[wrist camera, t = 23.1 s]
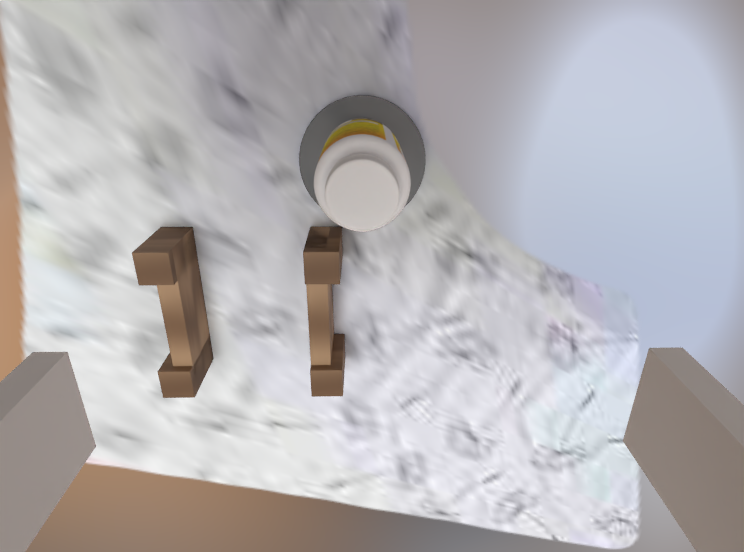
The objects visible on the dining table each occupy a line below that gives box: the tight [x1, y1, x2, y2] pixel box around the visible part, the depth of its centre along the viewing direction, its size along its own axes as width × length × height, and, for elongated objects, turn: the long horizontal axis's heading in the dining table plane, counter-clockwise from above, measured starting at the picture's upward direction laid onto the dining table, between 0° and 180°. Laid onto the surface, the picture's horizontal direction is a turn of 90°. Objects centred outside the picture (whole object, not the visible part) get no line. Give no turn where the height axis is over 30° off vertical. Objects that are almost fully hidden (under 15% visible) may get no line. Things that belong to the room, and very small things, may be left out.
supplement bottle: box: [314, 118, 411, 232], centre depth 30 cm, size 6×6×10 cm
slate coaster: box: [299, 95, 425, 207], centre depth 35 cm, size 9×9×1 cm
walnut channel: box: [132, 227, 345, 398], centre depth 38 cm, size 12×14×5 cm
